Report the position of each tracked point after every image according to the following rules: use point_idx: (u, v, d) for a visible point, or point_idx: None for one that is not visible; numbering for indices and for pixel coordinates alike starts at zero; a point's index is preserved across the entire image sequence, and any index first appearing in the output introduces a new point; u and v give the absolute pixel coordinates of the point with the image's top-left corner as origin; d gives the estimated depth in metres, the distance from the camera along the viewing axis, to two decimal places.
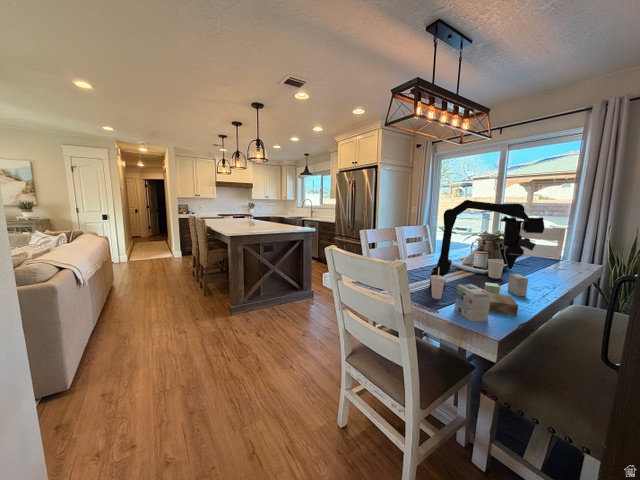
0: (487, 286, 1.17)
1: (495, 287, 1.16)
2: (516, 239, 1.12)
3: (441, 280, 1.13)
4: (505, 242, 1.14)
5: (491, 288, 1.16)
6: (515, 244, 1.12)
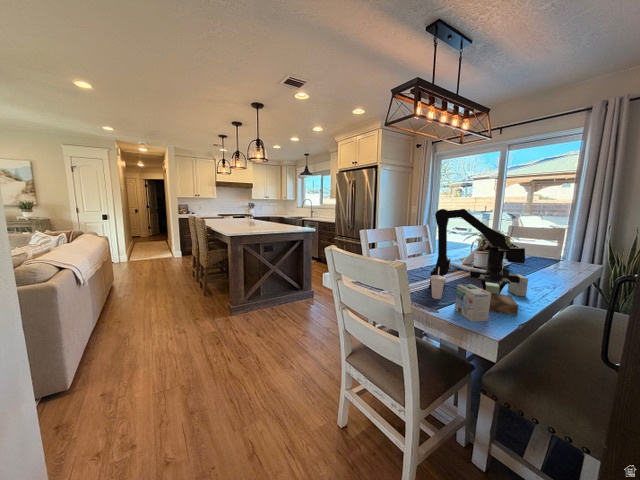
0: (487, 286, 1.17)
1: (495, 287, 1.16)
2: (488, 266, 1.17)
3: (441, 280, 1.13)
4: None
5: (491, 288, 1.16)
6: None
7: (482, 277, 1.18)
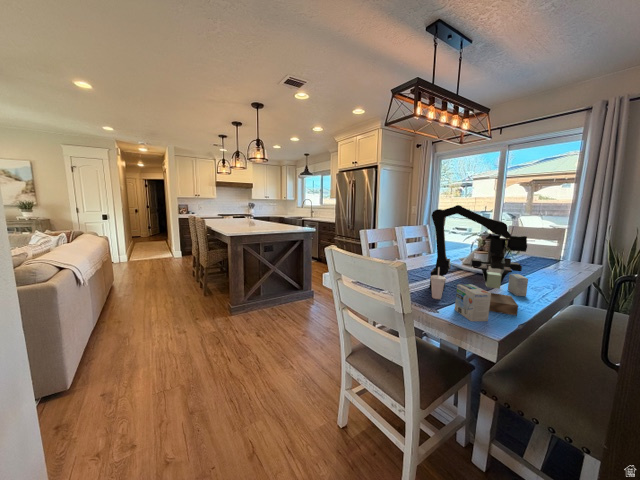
0: (489, 275, 1.16)
1: (497, 276, 1.15)
2: (489, 255, 1.16)
3: (441, 280, 1.13)
4: None
5: (493, 277, 1.15)
6: (489, 260, 1.16)
7: (483, 266, 1.17)
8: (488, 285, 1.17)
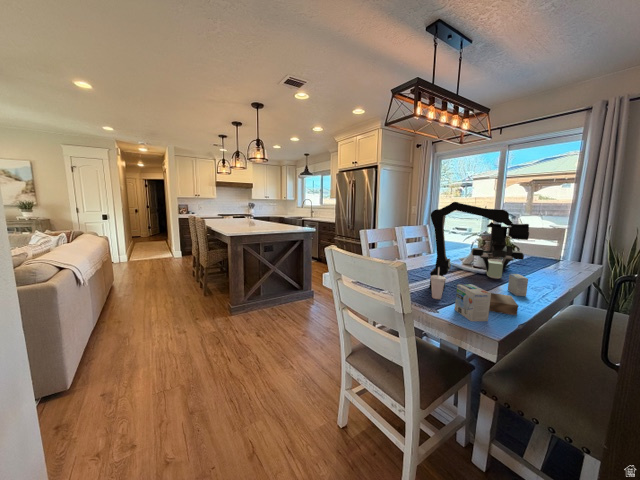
0: (490, 264, 1.15)
1: (498, 265, 1.13)
2: (491, 244, 1.14)
3: (441, 280, 1.13)
4: None
5: (494, 266, 1.14)
6: None
7: (485, 255, 1.15)
8: (489, 274, 1.15)
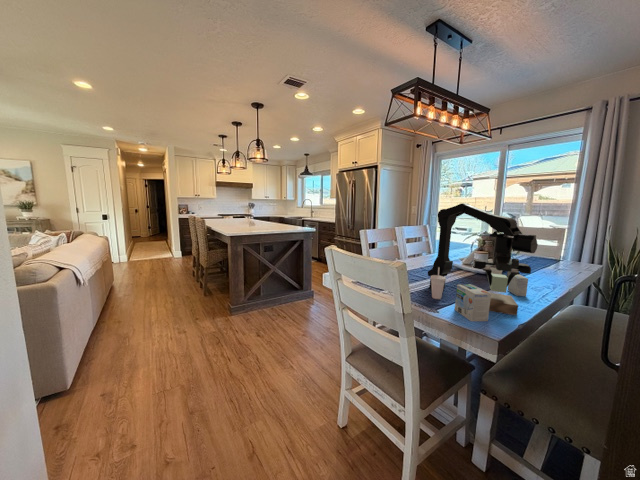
0: (493, 277, 1.04)
1: (503, 278, 1.03)
2: (494, 255, 1.04)
3: (441, 280, 1.13)
4: None
5: (498, 279, 1.04)
6: None
7: (488, 267, 1.05)
8: (493, 289, 1.05)
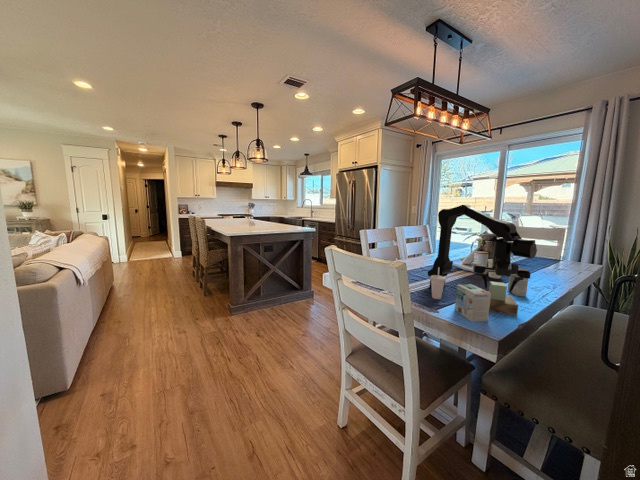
0: (493, 285, 1.05)
1: (502, 287, 1.03)
2: (494, 260, 1.04)
3: (441, 280, 1.13)
4: None
5: (497, 288, 1.04)
6: None
7: None
8: (492, 297, 1.05)
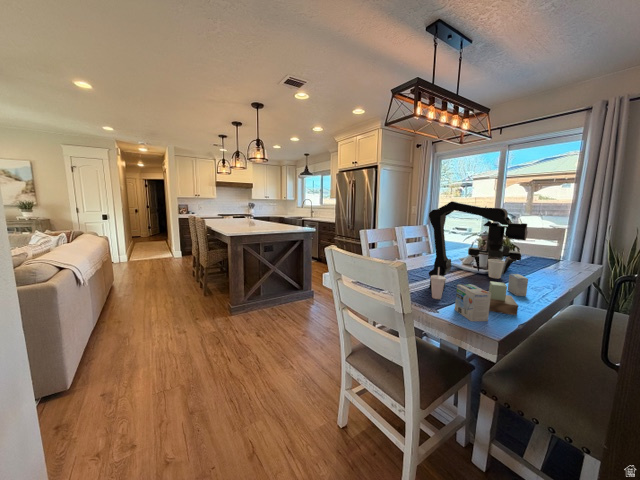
0: (493, 285, 1.05)
1: (502, 287, 1.03)
2: (488, 243, 1.11)
3: (441, 280, 1.13)
4: None
5: (497, 288, 1.04)
6: (487, 248, 1.11)
7: None
8: (492, 297, 1.05)
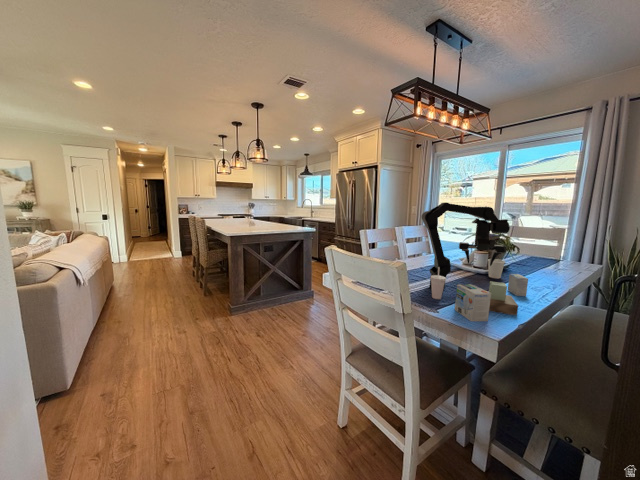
0: (493, 285, 1.05)
1: (502, 287, 1.03)
2: (476, 238, 1.24)
3: (441, 280, 1.13)
4: None
5: (497, 288, 1.04)
6: None
7: None
8: (492, 297, 1.05)
